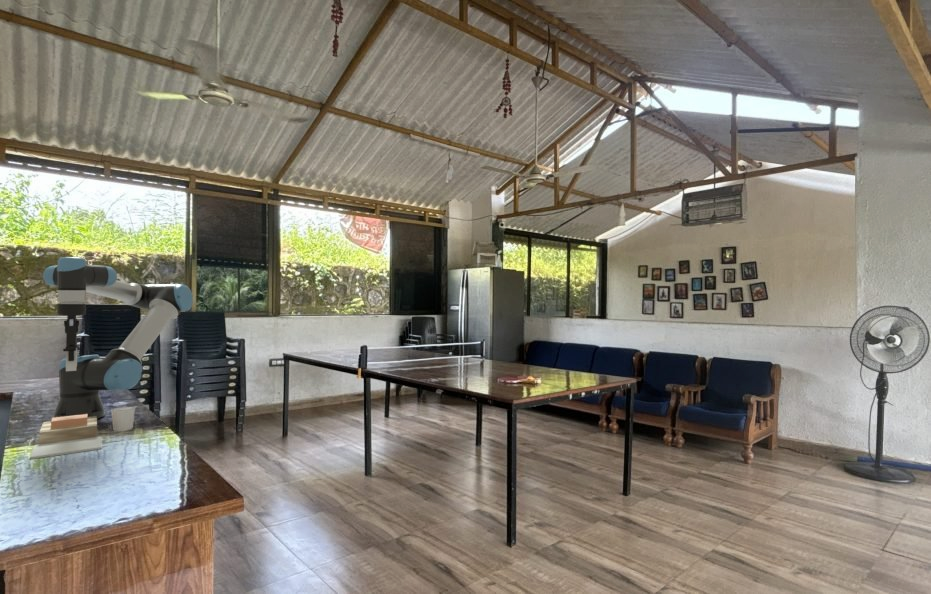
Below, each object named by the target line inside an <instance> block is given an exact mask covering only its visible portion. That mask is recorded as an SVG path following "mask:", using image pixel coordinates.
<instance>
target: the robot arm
mask: <svg viewBox="0 0 931 594" xmlns="http://www.w3.org/2000/svg"><path fill="white" fill-rule="evenodd" d="M117 274H118V273H117V271H116V270H115V269H114V268H113V267H111V266H109V265H108V266H106V265H98V264H96V265H95V264H88V263H87V260H86V258H83V257H75V256H73V257H71V256H63V257H59V258H58V260H57V264H56V265H50V266H48V267H46V268H45V270H43V275H42V277H43V281H44V282H45V283H46V285H48V286H50V287H57V293H55V294H54V296H55V297H57V303H59V304H57V307H56V308H57V312H56V313H57V315H58V316H66V318H67V319H66V320H64V321H63V326H64V333H65V334H66V337H65V339H66V340H65V341H66V342H65V343H66V345H65V348H63V352H65V358H63V359H61V360H60V362H59V368H58V373H59V375H58V377H59V379H58V380H59V382H58V384H59V399H58V402H57V404H56V408H55V410H54V412H53V413H52V414H53V415H52V418H55V417H64V416H73V415H82V414H88V417H93V416H97V419H99V418H102V417H104V416H105V414H106V413H105V407H104V405H103V402H102V399H101V397H100V391H109V392H110V391H111V392H122V391H128V390H131V389H132V388H133V387H135V386H136V385H137V384H138V383H139V381H140V380H141V378H142V373H143V367H142V364H143V362H142V359H143V357H144V356H145V355H146V353H147V351H148V350H149V349H150V348H151V347H152V345H153V343H155V341H156V339H157V338H158V337H159V336H160V334H162V333H161V332H162V331H164V329H165V327H166V326H167V325H168V323H169V321H171V320H175V319H176V318H177V317H178V316H179V315H180V314H181V312H188V311H189V310H191V309H192V307H193V303H194V299H193V298H194V295H193V293H192V290H191V289H190V287H189V286H188V285H186V284H180V283H175V284H174V283H168V284H167V283H163V284H162V283H157V284H156V283H153V284H152V283H151V284H149V283H147V284H145V283H143V284H142V283H141V284H140V283H137V282H130V283H129V282H124V281H121V280H117V277H118V275H117ZM87 293H89V294H92V295H97V296H99V297H100V296H101V297H104V298H110V299H112V300H116V301H120V302H122V303H123V304H125V305H128V306H131V307H134V308H139V309H142V310H146V311H147V312H146V313H145V314H144V316H143V317H142V318H141V319H140V320H139V322H138V323H137V324H136V326H135V327H134V328H133V329H132V331H131V332H130V333H129V334H128V335H127V336H126V338H125V340H124V341H123V342H122V343H121V344H120V346H119V347H118V348H113V349H111V350H110V351H109V352H108V354H106V356H105V357H104V358H100V355H99V354H90V355H89V354H88V355H81V356H78V348H80V344H78V342H77V338H78V337H77V334H78V333H79V327H80V320H79V319H78V318H77V316H85V315H86V314H87V305H86V302H87Z"/></svg>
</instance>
